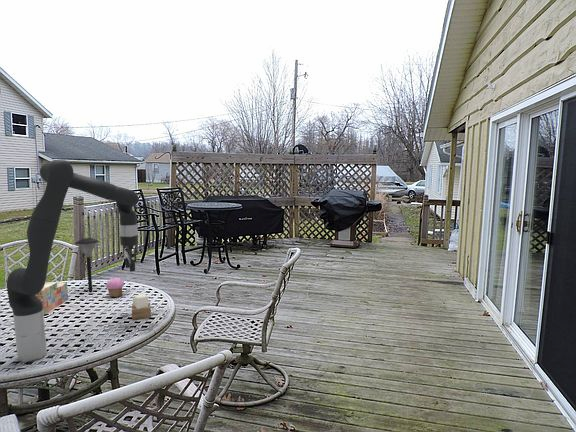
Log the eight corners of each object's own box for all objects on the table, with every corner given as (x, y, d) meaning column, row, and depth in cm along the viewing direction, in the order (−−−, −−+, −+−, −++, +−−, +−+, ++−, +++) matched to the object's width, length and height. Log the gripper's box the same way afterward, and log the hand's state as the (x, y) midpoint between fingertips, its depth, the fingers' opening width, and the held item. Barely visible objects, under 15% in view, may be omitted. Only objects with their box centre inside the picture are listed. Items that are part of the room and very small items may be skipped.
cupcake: (127, 293, 219) (126, 276, 218) (119, 299, 210) (118, 280, 209) (112, 293, 220) (111, 275, 219) (103, 298, 211) (102, 280, 210)
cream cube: (148, 306, 186) (147, 296, 185) (137, 309, 183) (136, 298, 182) (145, 303, 190) (144, 293, 189) (134, 305, 187) (133, 295, 186)
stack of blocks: (56, 299, 210) (54, 277, 209) (68, 299, 210) (66, 276, 209) (31, 314, 189) (29, 289, 188) (44, 314, 189) (42, 289, 188)
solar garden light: (104, 287, 230) (100, 236, 226) (101, 294, 219) (97, 240, 215) (80, 289, 226) (76, 237, 223) (76, 296, 215) (72, 241, 211)
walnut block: (150, 318, 185) (150, 308, 184) (132, 320, 182) (131, 310, 182) (150, 312, 192) (150, 302, 192) (132, 314, 190) (132, 304, 189)
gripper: (116, 233, 184) (118, 267, 186) (123, 237, 173) (125, 273, 174) (133, 231, 188) (135, 265, 190) (141, 235, 177) (142, 271, 179)
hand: (130, 269), depth 182 cm, fingers open, 8 cm apart
